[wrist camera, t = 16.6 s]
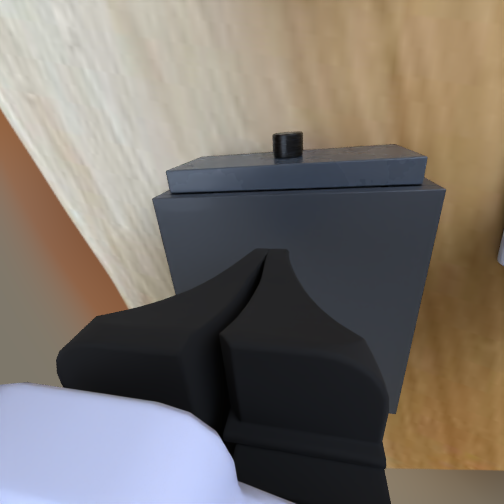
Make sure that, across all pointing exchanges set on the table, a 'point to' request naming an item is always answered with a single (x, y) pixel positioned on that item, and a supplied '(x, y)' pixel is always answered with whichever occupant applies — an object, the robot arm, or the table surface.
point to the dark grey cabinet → (320, 252)
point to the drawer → (300, 168)
